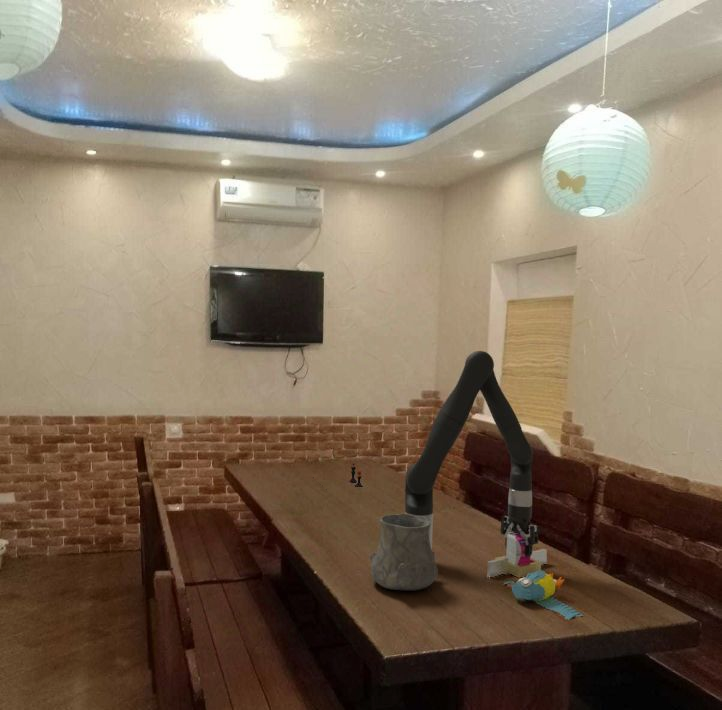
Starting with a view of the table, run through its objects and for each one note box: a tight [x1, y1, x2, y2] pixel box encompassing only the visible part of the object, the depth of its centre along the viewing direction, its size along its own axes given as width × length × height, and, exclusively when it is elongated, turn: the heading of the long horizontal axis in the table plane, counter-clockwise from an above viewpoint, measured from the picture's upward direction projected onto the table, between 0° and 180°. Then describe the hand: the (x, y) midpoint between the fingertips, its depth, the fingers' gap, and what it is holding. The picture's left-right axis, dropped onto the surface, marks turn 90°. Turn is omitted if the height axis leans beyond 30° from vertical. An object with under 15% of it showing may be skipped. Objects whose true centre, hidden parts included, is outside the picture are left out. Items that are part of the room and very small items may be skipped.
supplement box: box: [505, 533, 530, 566], centre depth 209 cm, size 6×6×12 cm
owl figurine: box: [503, 569, 584, 621], centre depth 185 cm, size 28×9×15 cm
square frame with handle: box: [486, 548, 548, 579], centre depth 209 cm, size 26×10×5 cm, turn 123°
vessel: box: [370, 513, 439, 591], centre depth 194 cm, size 22×22×20 cm
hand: (518, 552), depth 209 cm, fingers open, 8 cm apart
